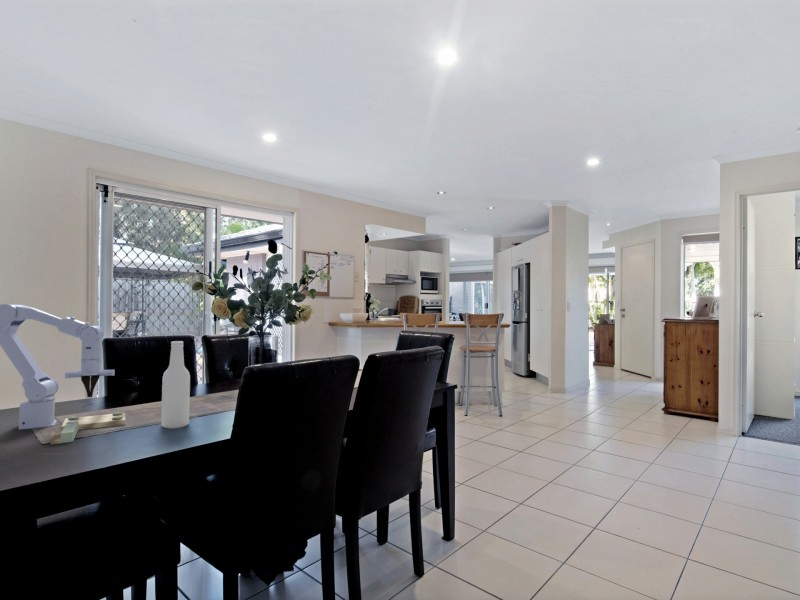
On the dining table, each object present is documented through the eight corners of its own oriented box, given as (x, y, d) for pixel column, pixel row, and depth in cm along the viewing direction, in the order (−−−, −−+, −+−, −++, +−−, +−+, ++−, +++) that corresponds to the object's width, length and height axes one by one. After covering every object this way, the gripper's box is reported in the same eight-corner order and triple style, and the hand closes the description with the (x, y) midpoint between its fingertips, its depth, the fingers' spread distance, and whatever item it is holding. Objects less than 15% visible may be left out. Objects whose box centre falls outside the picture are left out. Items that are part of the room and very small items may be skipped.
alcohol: (156, 429, 150) (158, 342, 150) (168, 422, 158) (170, 340, 159) (182, 429, 150) (184, 342, 151) (193, 422, 159) (195, 340, 159)
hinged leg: (66, 431, 144) (67, 421, 145) (78, 429, 146) (78, 420, 146) (60, 443, 132) (60, 432, 132) (73, 441, 134) (73, 431, 134)
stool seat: (50, 445, 131) (50, 435, 131) (61, 424, 153) (61, 416, 154) (125, 436, 141) (125, 426, 141) (125, 417, 164) (125, 409, 164)
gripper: (64, 361, 149) (63, 400, 149) (114, 359, 157) (113, 396, 157) (66, 359, 155) (65, 397, 155) (115, 357, 163) (114, 393, 163)
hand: (89, 396), depth 156 cm, fingers closed
